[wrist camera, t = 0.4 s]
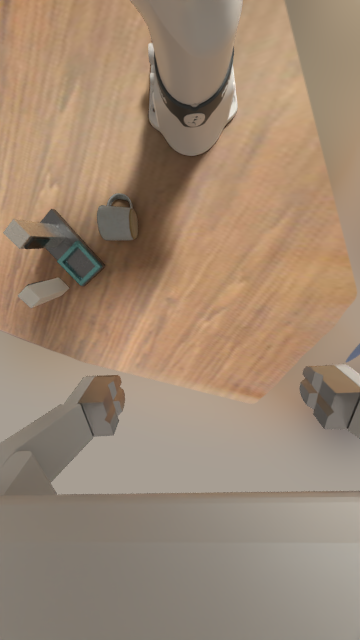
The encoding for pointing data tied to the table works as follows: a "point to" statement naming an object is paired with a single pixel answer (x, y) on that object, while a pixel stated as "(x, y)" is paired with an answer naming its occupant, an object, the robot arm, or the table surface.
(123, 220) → the ceramic mug
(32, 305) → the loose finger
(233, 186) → the table surface
